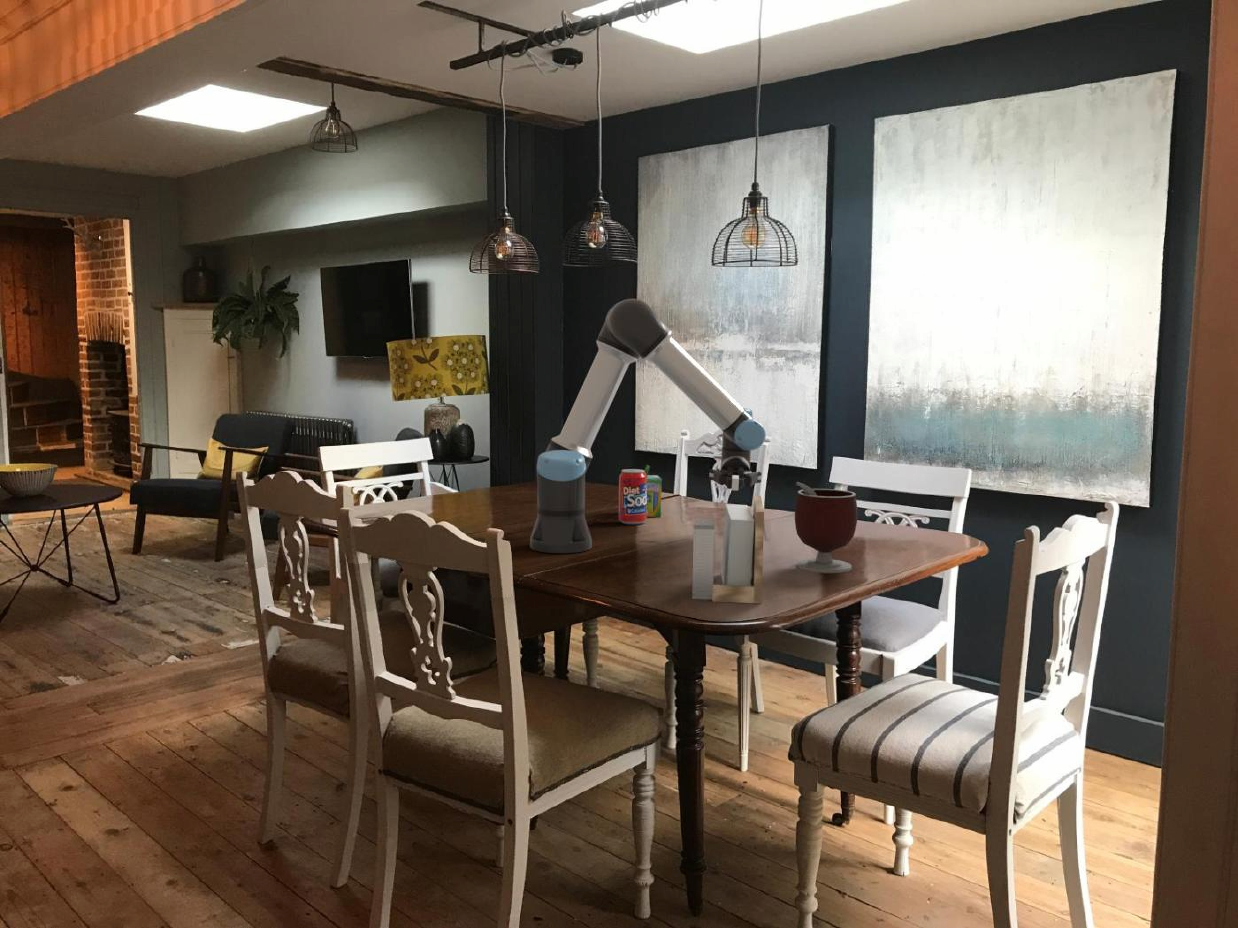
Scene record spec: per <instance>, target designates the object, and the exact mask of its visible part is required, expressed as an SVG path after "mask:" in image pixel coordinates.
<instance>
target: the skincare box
mask: <svg viewBox="0 0 1238 928" xmlns="http://www.w3.org/2000/svg"><path fill="white" fill-rule="evenodd" d="M723 520H724V522H723V523H724V524H723V525H724V527H723V533H722V535H723V537H722V553H721V554H722V555H721V566H720V567H721V568H720V569H721V570H720V576H721V581H722V585H735V586H752V578H751V576H752V556H753V539H754V522H755V520H754V518H753V513H751V510H750V508H749V506H748V505H747V504H732V503H731V504H730V503H729V504H728V503H725V507H724V519H723Z"/></svg>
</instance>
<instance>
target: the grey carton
mask: <svg viewBox="0 0 1238 928" xmlns="http://www.w3.org/2000/svg"><path fill="white" fill-rule="evenodd" d="M715 529H716V518H707V517H706V518H705V517H704V518H703V517H701V518H700V517H695V518H694V522H693V541H692V542H693V543H692V544H693V548H692V552H693V553H692V595H691V596H692V597H691V599H693V600H710V601H711V600H712V601H713V585H714V580H715V579H714V577H715V576H714V575H715V574H714V572H715V537H716V536H715V535H716V534H715V533H716V530H715Z"/></svg>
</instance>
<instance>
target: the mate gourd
mask: <svg viewBox="0 0 1238 928" xmlns="http://www.w3.org/2000/svg"><path fill="white" fill-rule="evenodd" d="M795 485H796V486H797V487H799V488H801V489H800V490H798V491H797V497H796V500H795V507H794V524H795V531H796V535H797V536H798V537H799V539H800V541H801V542H802V544H804V545H806V546H808V547H809V548H811V549H813V550H815V551H817V552H818V553H817V555H816V558H804V559H800V560H797V562H796V567H797V568H798V569H800V570H803V571H806V572H812V573H821V574H838V573H839V574H842V573H846V572H849V571H852V567H853V566H852V564H851V563H850V562H846V561H843V560H839V559H833V556H832V555H831V552H834V551H837V550H839V549H841V548H844V547H846V546H848V544H849V543H850V542H851V540H852V539H853V538H854V535H855V533H856V530H857V529H856V528H857V523H858V503H857V498H856V496H857V495H856V493H855V492H853V491H849V490H845V489H833V488H832V489H831V488H811V487H810V486H808V485H806V484H804V483H801V482H799V481H796V483H795Z"/></svg>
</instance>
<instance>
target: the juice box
mask: <svg viewBox="0 0 1238 928" xmlns="http://www.w3.org/2000/svg"><path fill="white" fill-rule="evenodd" d="M650 469H651V467H650V465H648V464H646V466H645V468H644V470H645V474H646V476H647V517H646V518H662V489H663V488H662V487H663V486H662V485H663V484H662V482H663V479H662V478H661V477H660V476H659V475H657V474H649V472H650Z"/></svg>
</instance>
